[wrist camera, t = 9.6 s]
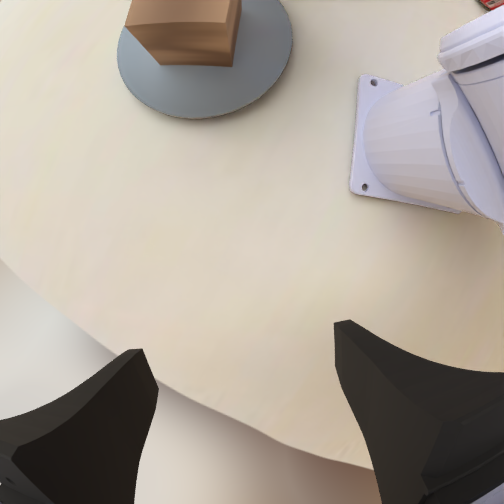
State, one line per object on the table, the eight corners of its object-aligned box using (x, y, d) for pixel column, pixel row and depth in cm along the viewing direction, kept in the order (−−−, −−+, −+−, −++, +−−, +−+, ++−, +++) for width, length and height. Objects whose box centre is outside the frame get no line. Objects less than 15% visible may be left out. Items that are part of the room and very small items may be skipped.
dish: (294, -13, 14) (297, -20, 13) (282, 127, 17) (284, 124, 16) (140, -14, 14) (136, -21, 13) (111, 120, 17) (104, 118, 16)
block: (241, 9, 14) (240, -46, 8) (232, 67, 15) (225, 22, 9) (173, 8, 14) (147, -42, 8) (160, 65, 15) (124, 26, 9)
